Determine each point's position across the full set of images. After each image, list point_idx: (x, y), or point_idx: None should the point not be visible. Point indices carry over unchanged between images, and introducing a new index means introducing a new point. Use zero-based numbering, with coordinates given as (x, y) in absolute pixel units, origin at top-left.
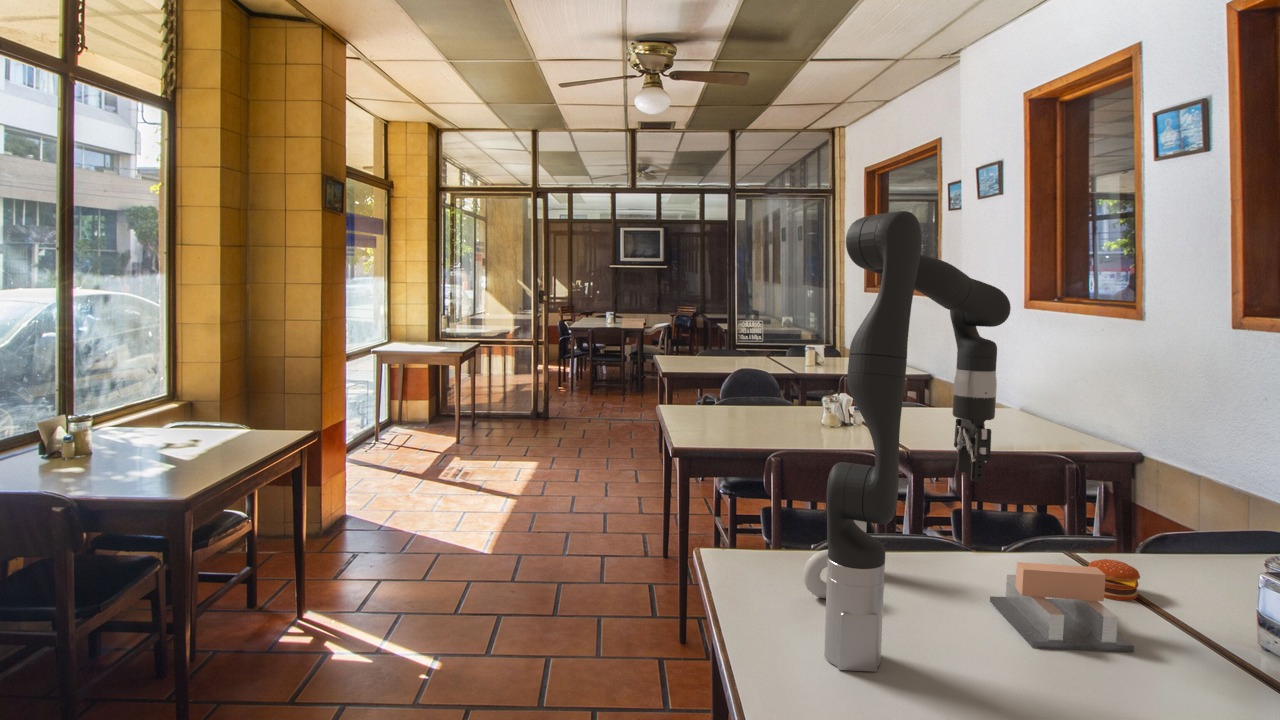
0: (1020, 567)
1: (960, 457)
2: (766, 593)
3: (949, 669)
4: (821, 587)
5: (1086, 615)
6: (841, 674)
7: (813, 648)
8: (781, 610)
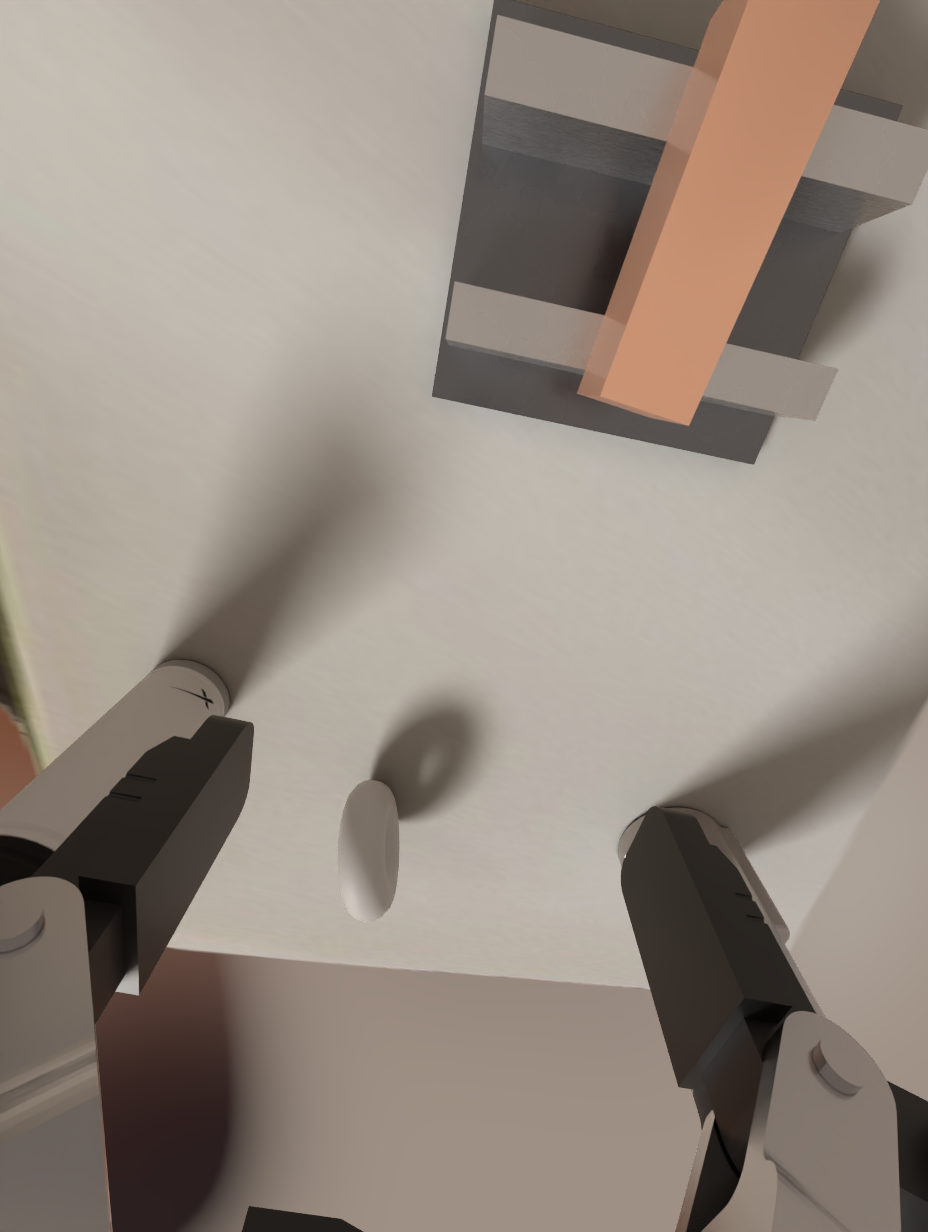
0: (648, 412)
1: (168, 928)
2: None
3: (765, 708)
4: (397, 841)
5: None
6: None
7: (613, 884)
8: (442, 888)
